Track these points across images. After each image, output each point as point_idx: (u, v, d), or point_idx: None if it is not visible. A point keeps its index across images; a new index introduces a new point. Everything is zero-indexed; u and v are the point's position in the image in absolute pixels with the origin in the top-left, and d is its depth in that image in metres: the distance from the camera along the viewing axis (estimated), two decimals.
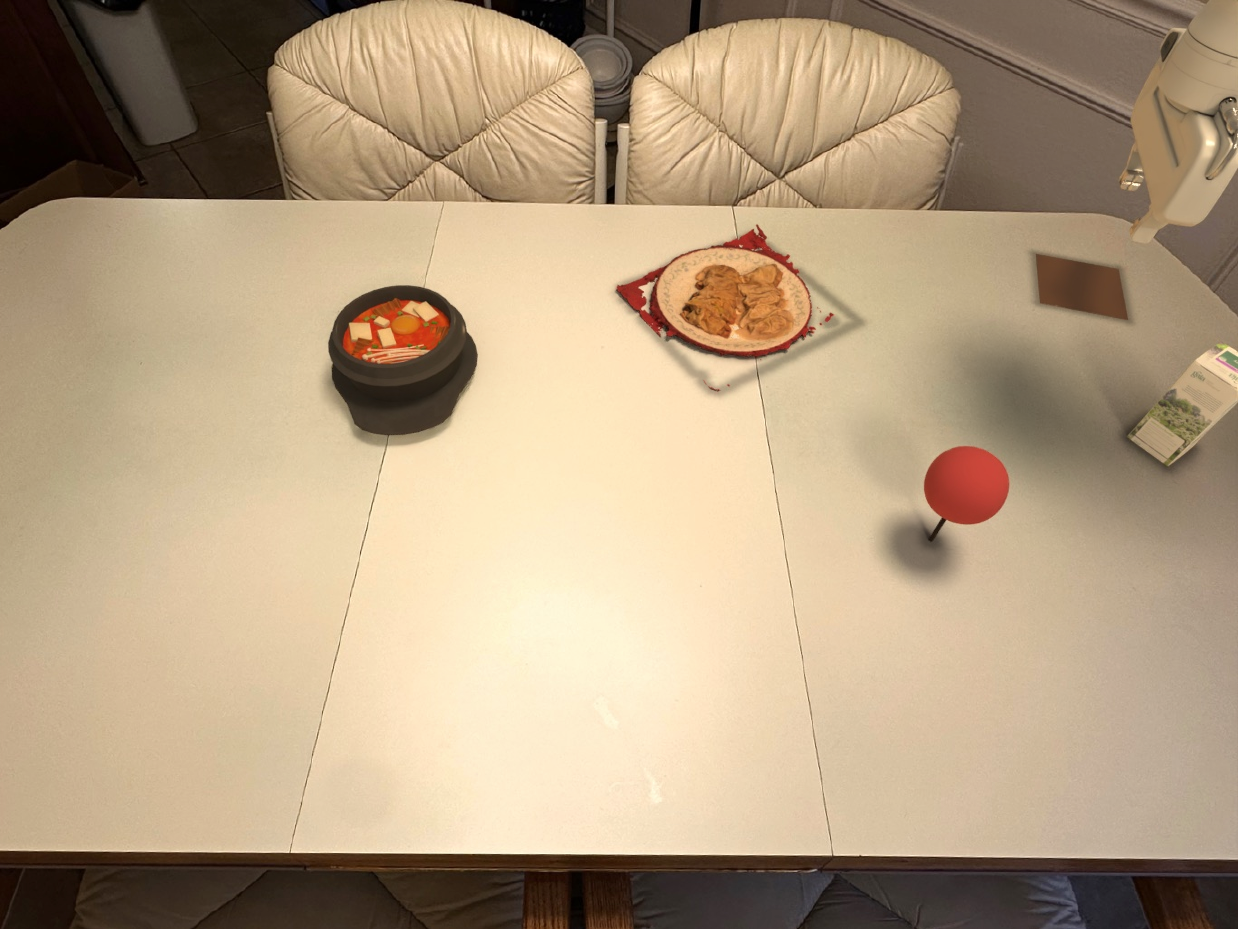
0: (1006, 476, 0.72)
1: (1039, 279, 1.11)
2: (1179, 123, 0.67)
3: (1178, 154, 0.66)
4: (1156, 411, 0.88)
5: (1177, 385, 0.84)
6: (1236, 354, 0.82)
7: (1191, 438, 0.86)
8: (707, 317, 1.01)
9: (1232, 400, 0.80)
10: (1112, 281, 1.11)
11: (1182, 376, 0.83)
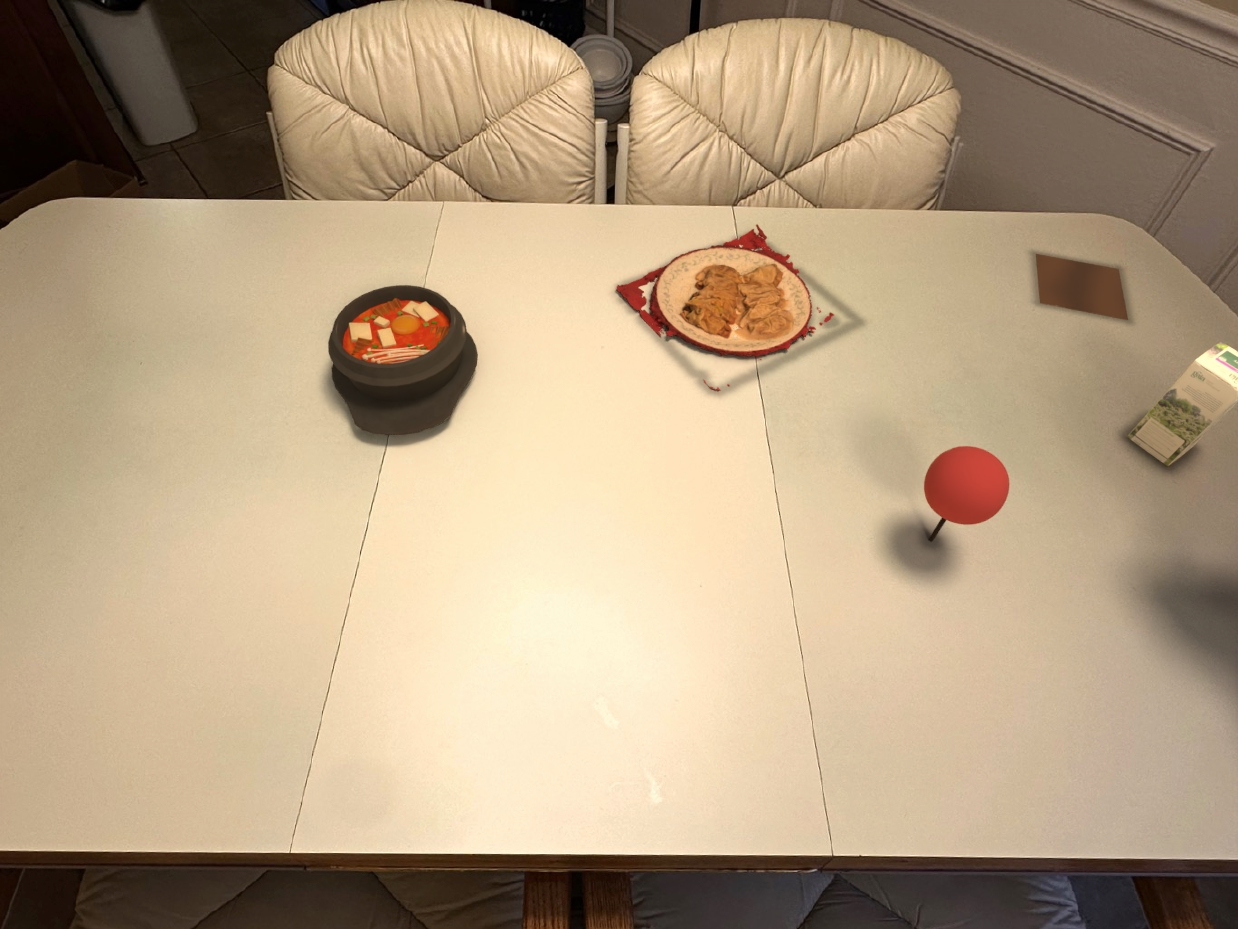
0: (1007, 477, 0.72)
1: (1039, 279, 1.11)
2: None
3: None
4: (1156, 411, 0.88)
5: (1177, 385, 0.84)
6: (1236, 354, 0.82)
7: (1191, 438, 0.86)
8: (707, 316, 1.01)
9: (1232, 400, 0.80)
10: (1112, 281, 1.11)
11: (1182, 376, 0.83)
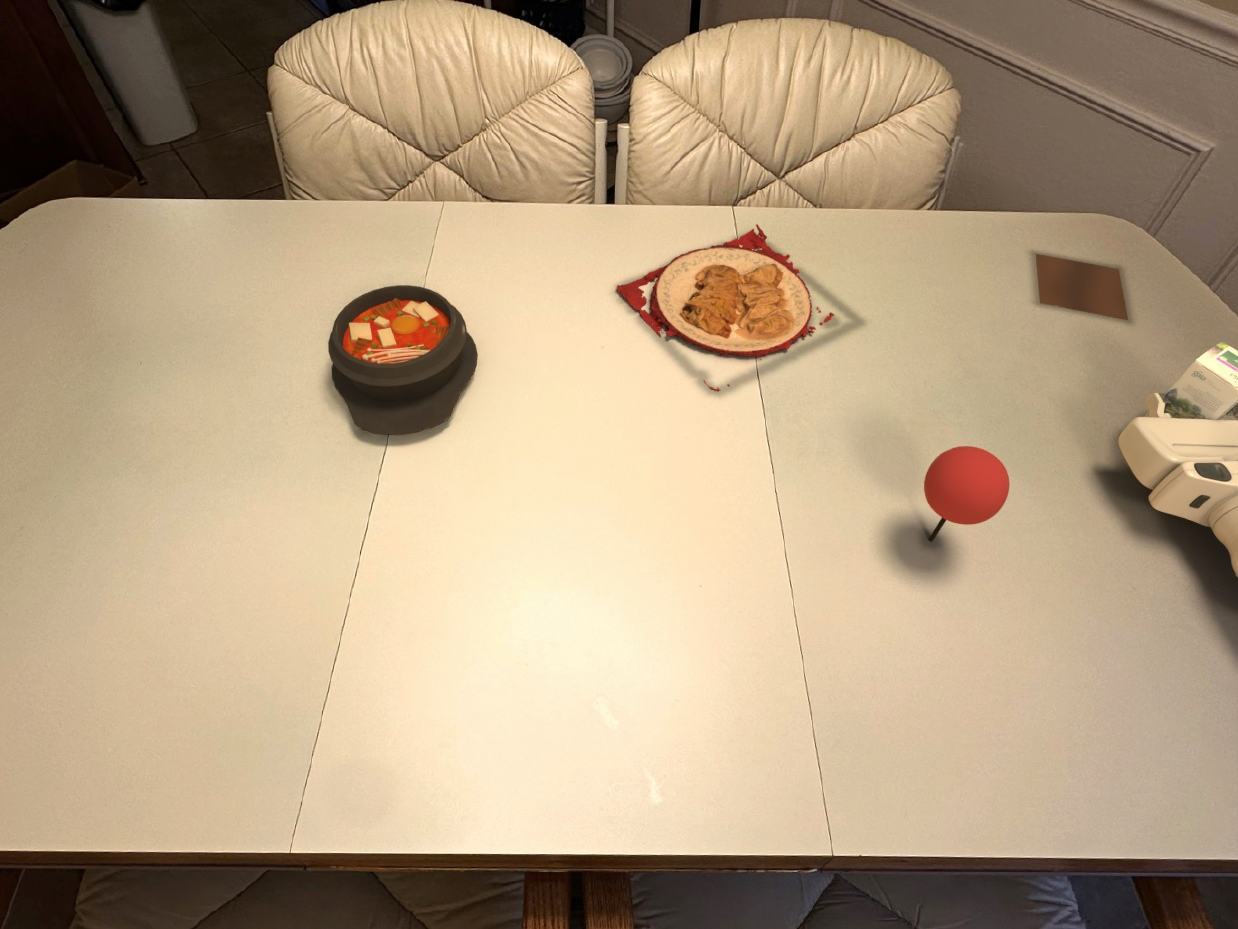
0: (1007, 477, 0.72)
1: (1039, 279, 1.11)
2: None
3: None
4: None
5: (1178, 385, 0.84)
6: (1237, 354, 0.82)
7: None
8: (707, 316, 1.01)
9: (1233, 400, 0.80)
10: (1112, 281, 1.11)
11: (1183, 376, 0.83)
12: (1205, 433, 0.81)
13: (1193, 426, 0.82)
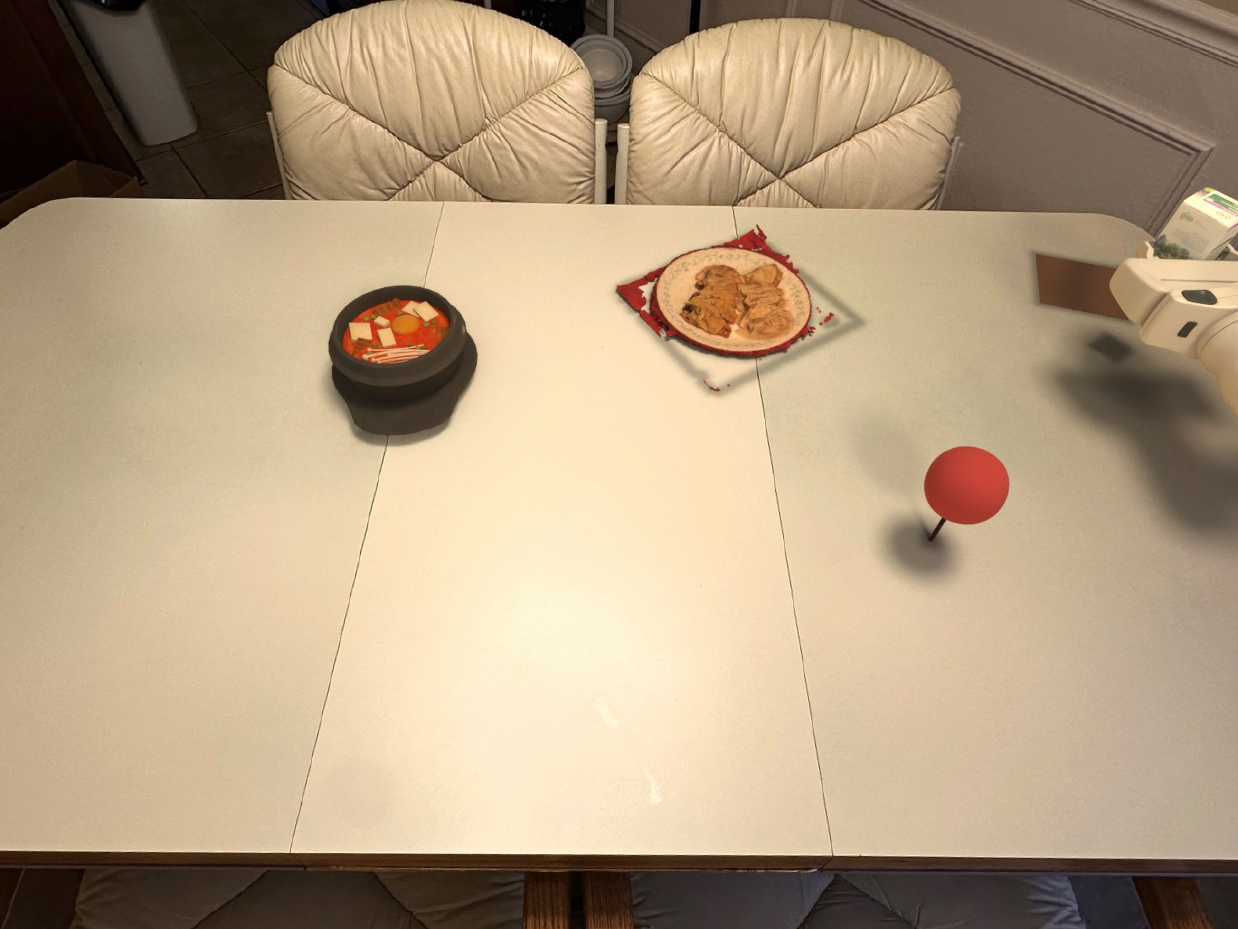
0: (1007, 477, 0.72)
1: (1039, 279, 1.11)
2: None
3: None
4: None
5: (1166, 230, 0.87)
6: (1223, 196, 0.85)
7: None
8: (707, 316, 1.01)
9: (1219, 236, 0.83)
10: None
11: (1171, 220, 0.87)
12: (1193, 270, 0.84)
13: (1181, 265, 0.85)
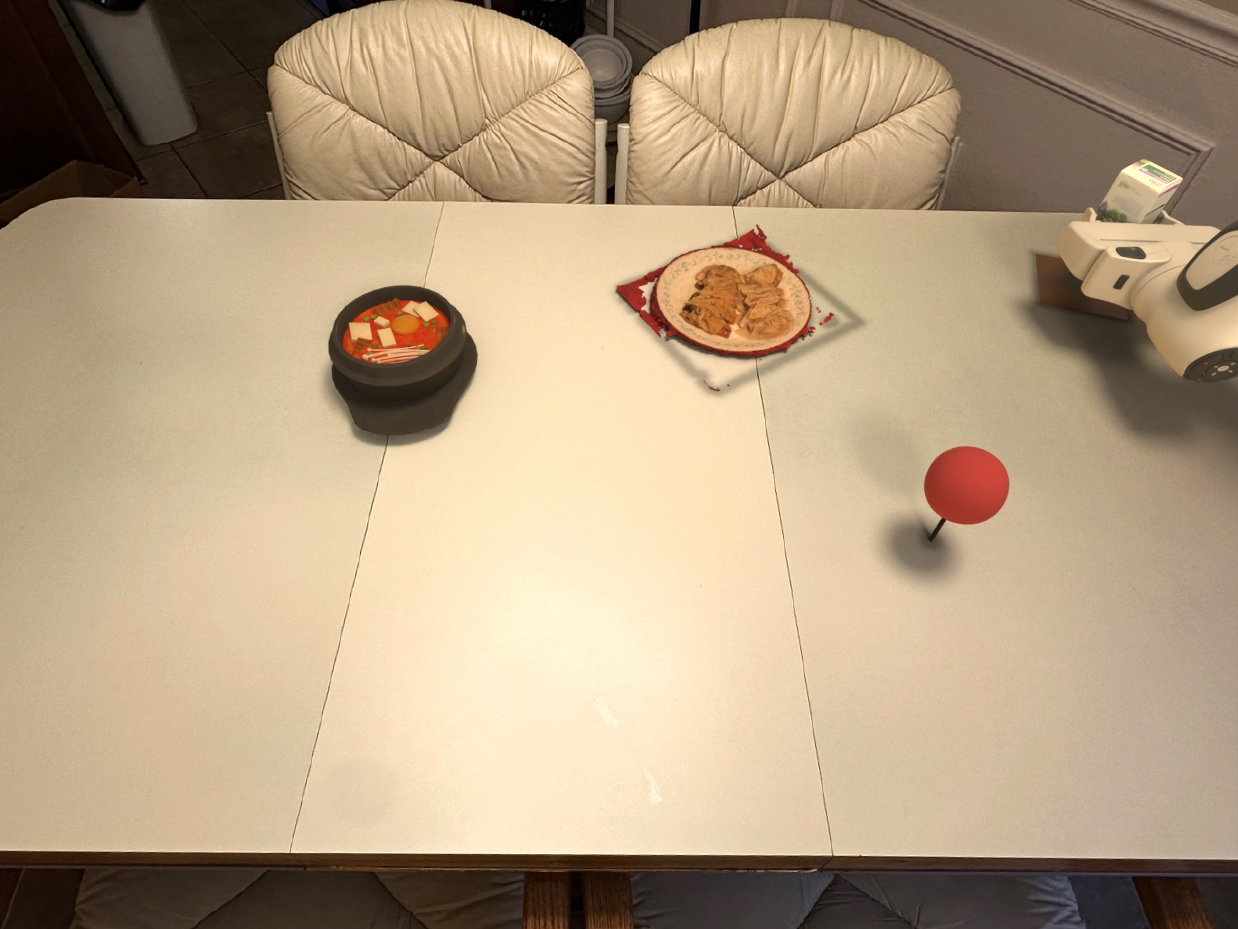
0: (1007, 477, 0.72)
1: (1039, 279, 1.11)
2: None
3: None
4: None
5: (1107, 197, 0.99)
6: (1156, 166, 0.96)
7: None
8: (707, 316, 1.01)
9: (1151, 201, 0.94)
10: None
11: (1111, 188, 0.98)
12: (1128, 232, 0.95)
13: (1119, 227, 0.96)
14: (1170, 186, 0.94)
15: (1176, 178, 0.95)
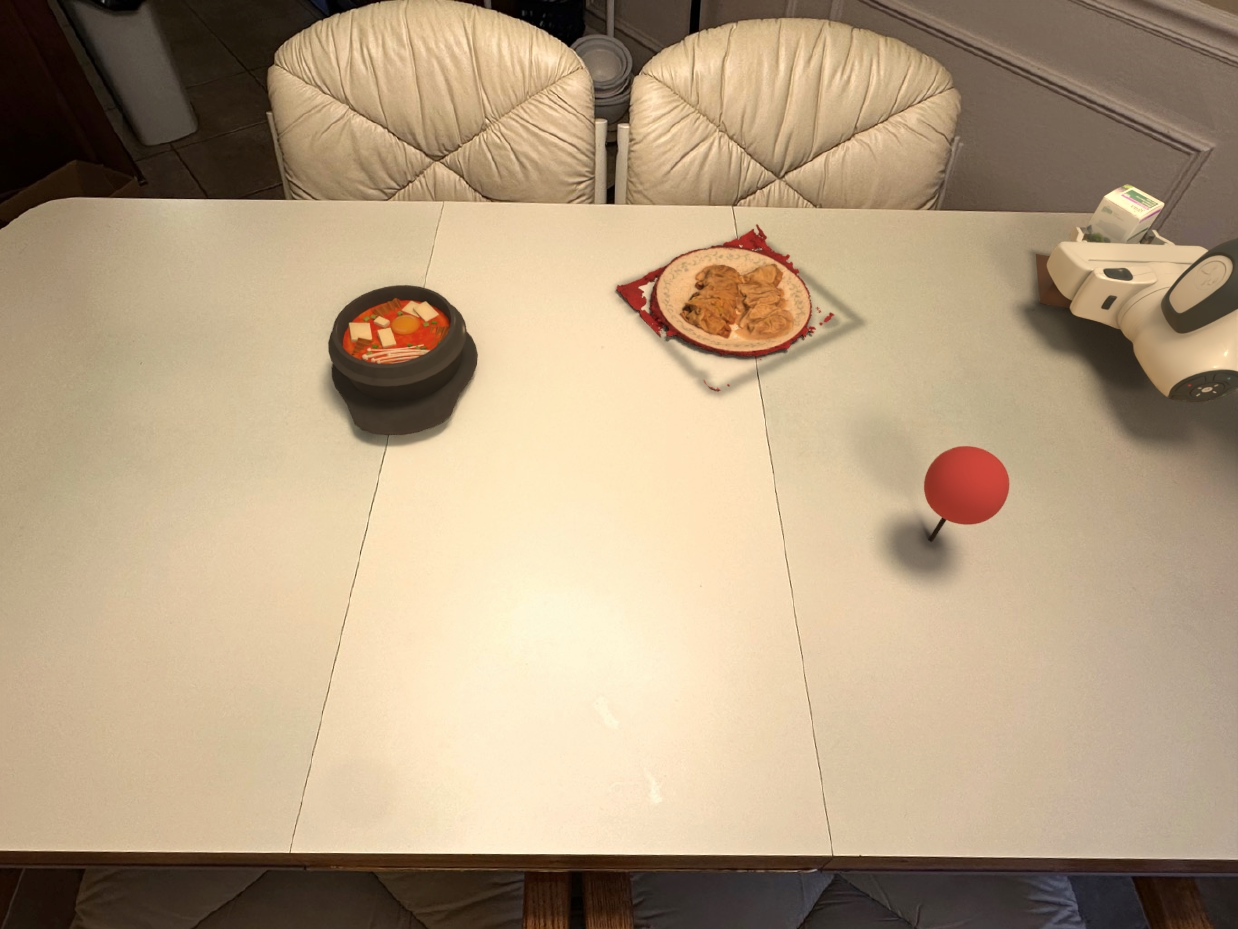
0: (1007, 477, 0.72)
1: (1039, 279, 1.11)
2: None
3: None
4: None
5: (1092, 221, 1.02)
6: (1139, 192, 0.99)
7: None
8: (707, 316, 1.01)
9: (1133, 227, 0.97)
10: None
11: (1095, 212, 1.01)
12: (1117, 252, 0.97)
13: (1107, 247, 0.98)
14: (1151, 212, 0.97)
15: (1158, 204, 0.98)
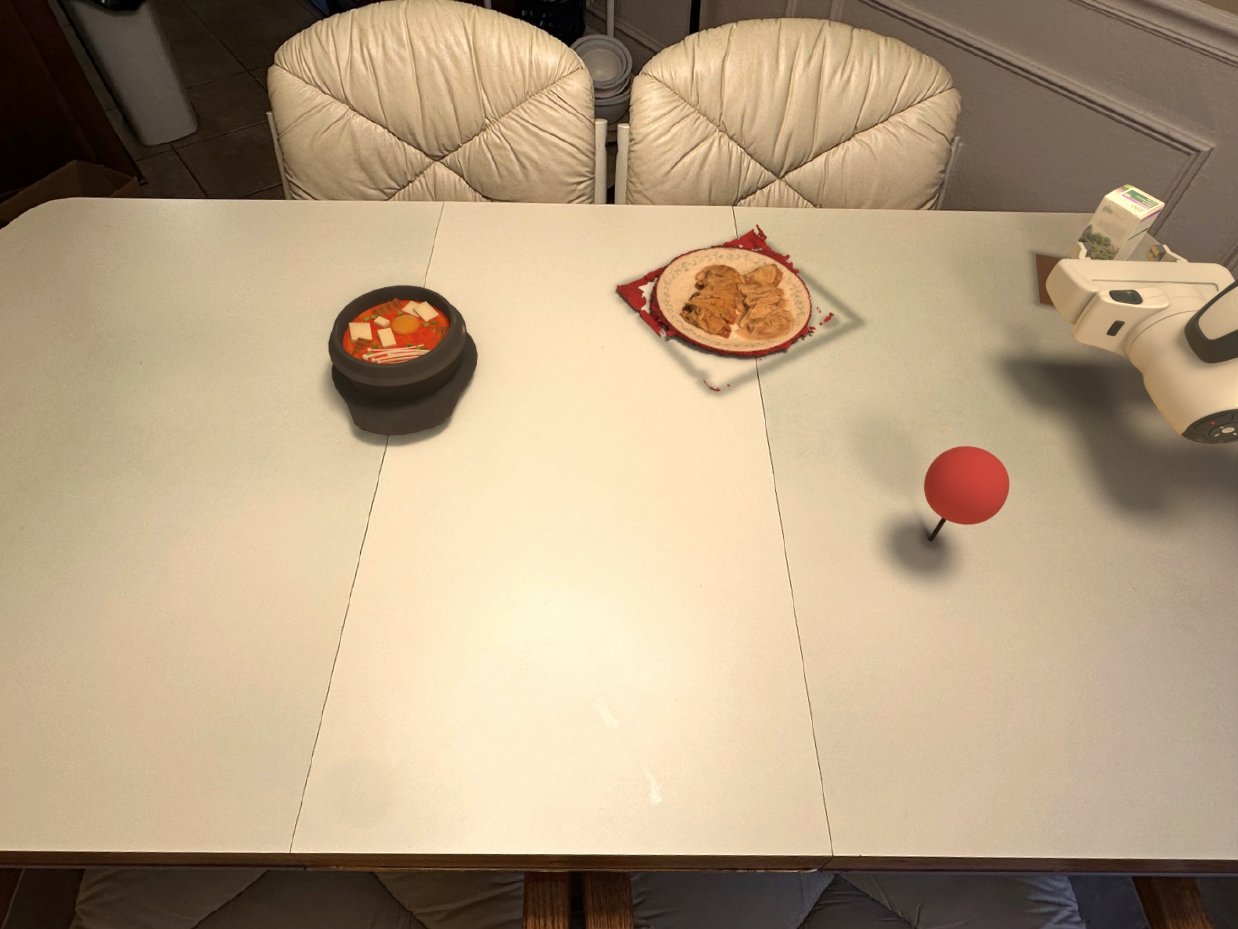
0: (1007, 477, 0.72)
1: (1039, 279, 1.11)
2: None
3: None
4: None
5: (1092, 221, 1.02)
6: (1139, 192, 0.99)
7: None
8: (707, 316, 1.01)
9: (1133, 226, 0.97)
10: None
11: (1096, 212, 1.01)
12: (1124, 271, 0.87)
13: (1113, 265, 0.87)
14: (1152, 211, 0.97)
15: (1158, 204, 0.98)
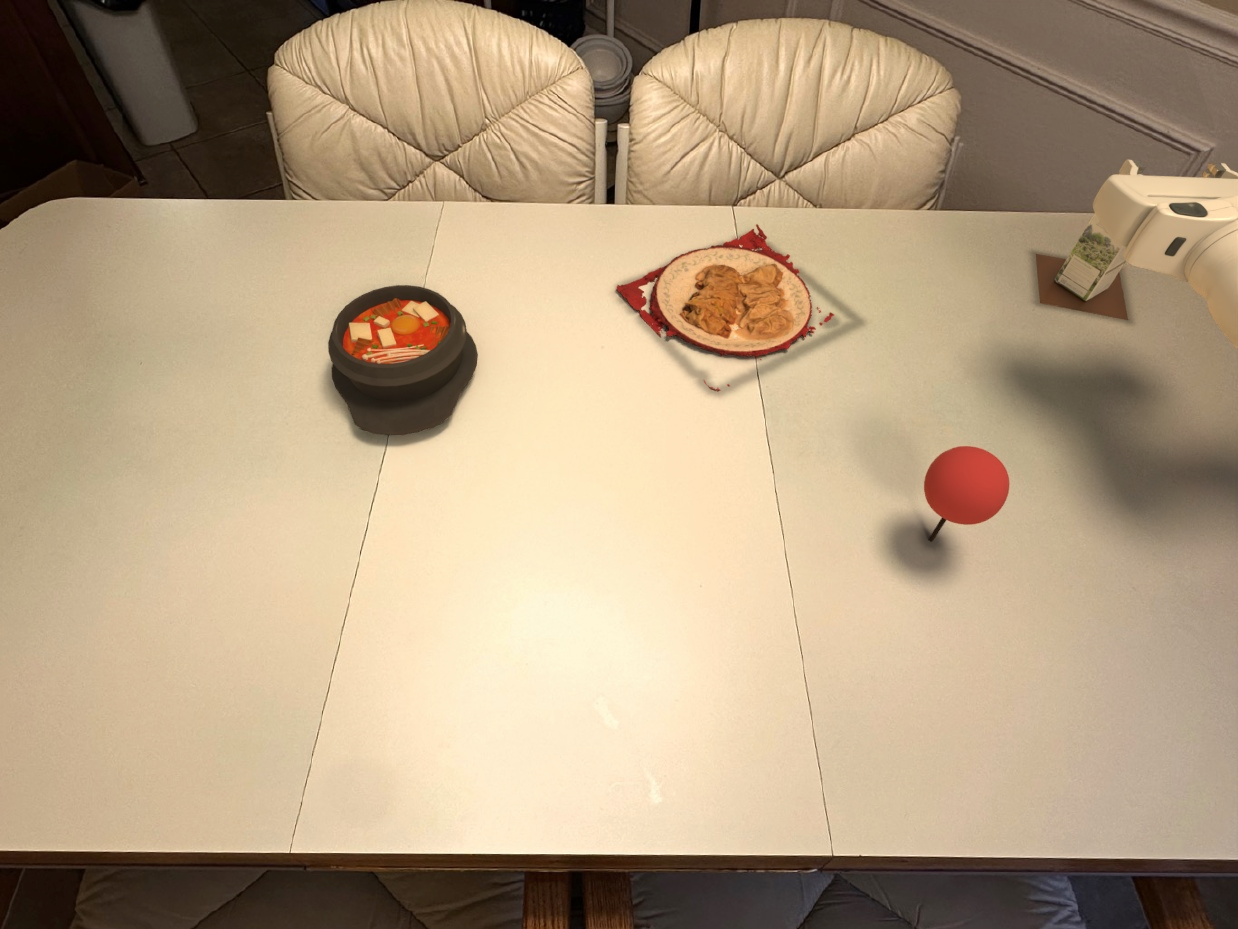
0: (1007, 477, 0.72)
1: (1039, 279, 1.11)
2: None
3: None
4: (1077, 248, 1.05)
5: (1092, 221, 1.02)
6: None
7: (1104, 267, 1.03)
8: (707, 316, 1.01)
9: None
10: None
11: None
12: (1182, 187, 0.78)
13: (1170, 181, 0.79)
14: None
15: None
